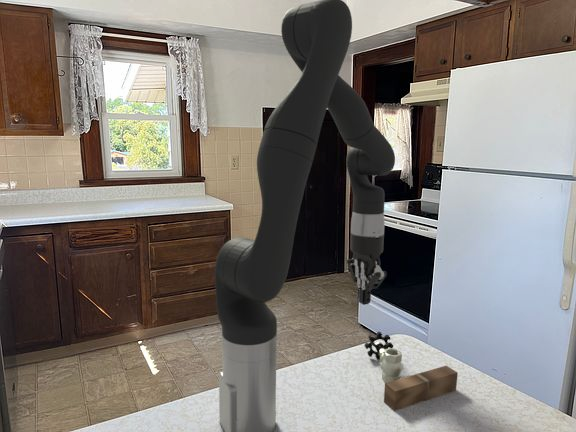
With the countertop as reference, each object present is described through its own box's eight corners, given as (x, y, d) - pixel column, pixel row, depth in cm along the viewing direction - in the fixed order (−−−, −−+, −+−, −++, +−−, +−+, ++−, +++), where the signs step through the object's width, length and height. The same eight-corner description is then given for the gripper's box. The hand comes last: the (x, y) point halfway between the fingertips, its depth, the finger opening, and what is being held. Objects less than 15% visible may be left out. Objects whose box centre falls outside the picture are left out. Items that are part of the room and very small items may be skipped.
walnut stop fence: (393, 411, 79) (395, 391, 78) (383, 402, 81) (384, 382, 81) (456, 390, 85) (457, 372, 85) (444, 383, 88) (446, 365, 87)
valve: (409, 386, 87) (391, 357, 99) (411, 356, 86) (392, 331, 98) (378, 387, 87) (363, 358, 98) (380, 357, 85) (365, 331, 97)
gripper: (337, 227, 100) (335, 296, 103) (371, 239, 89) (368, 316, 92) (363, 225, 104) (361, 292, 107) (399, 235, 92) (395, 310, 95)
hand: (364, 303), depth 99 cm, fingers closed
